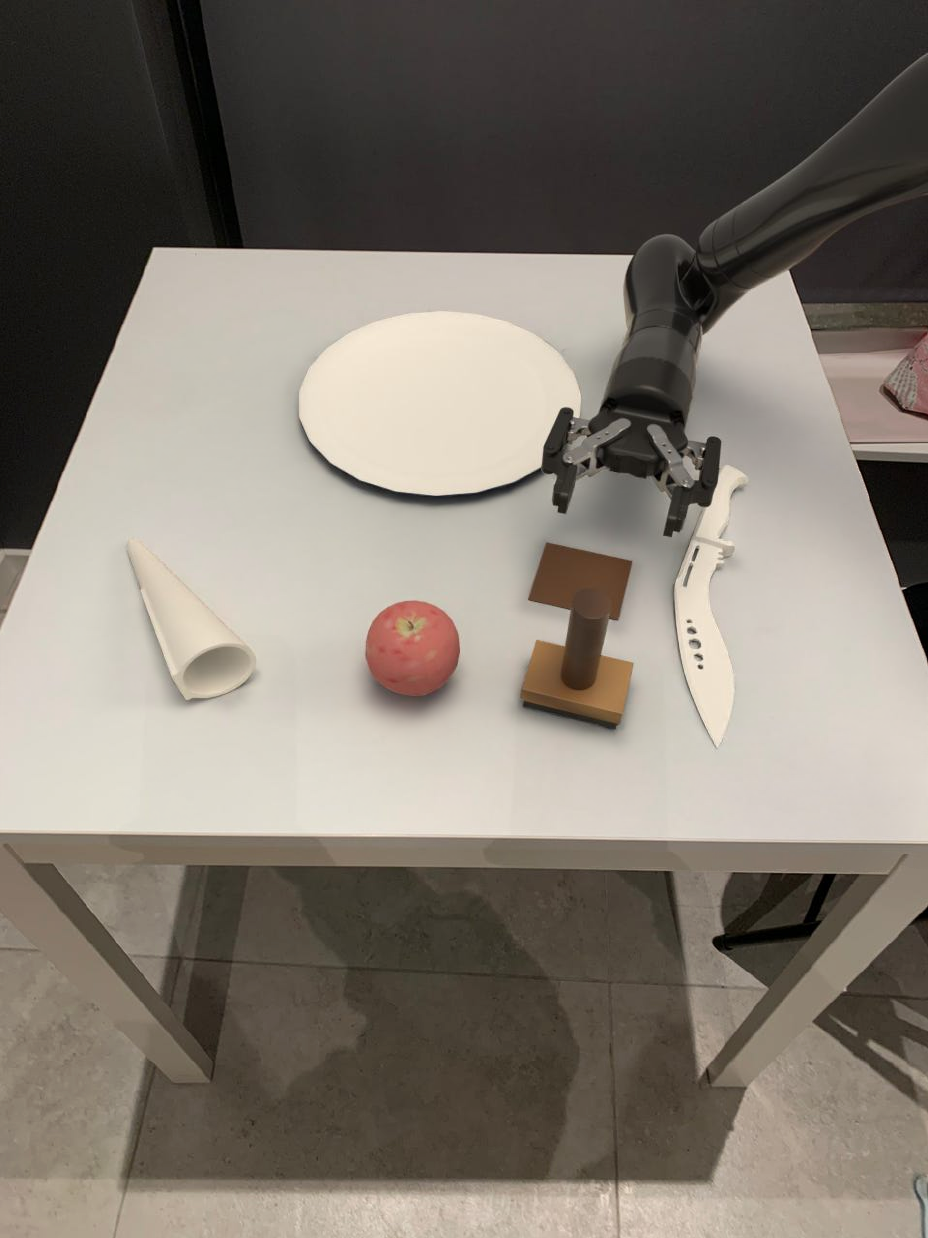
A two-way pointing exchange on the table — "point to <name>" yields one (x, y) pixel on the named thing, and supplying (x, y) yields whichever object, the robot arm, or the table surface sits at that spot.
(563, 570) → the brown flat block
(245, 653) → the long cone
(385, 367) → the plate
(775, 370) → the table surface
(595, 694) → the wooden handled stamp
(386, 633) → the apple
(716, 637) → the knife
